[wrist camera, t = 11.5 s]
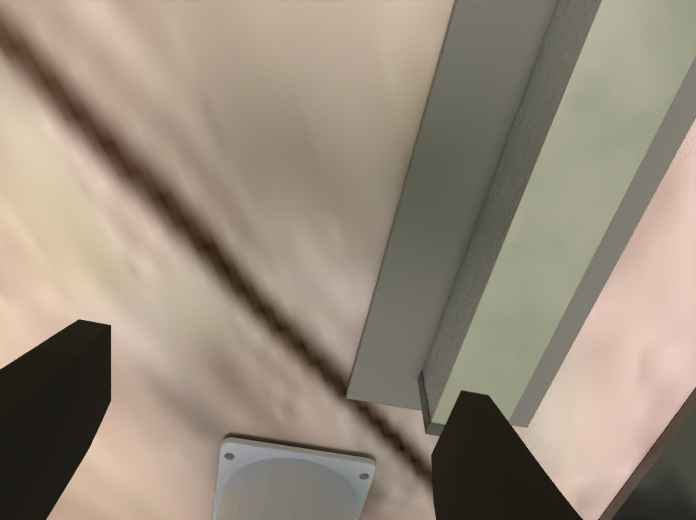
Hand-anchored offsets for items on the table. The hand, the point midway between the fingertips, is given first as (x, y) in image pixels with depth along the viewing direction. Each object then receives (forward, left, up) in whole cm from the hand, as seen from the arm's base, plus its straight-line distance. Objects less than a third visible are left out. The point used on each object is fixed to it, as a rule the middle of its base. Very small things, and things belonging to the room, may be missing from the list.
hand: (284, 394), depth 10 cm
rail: (+2, -8, -10) cm, 12 cm away
